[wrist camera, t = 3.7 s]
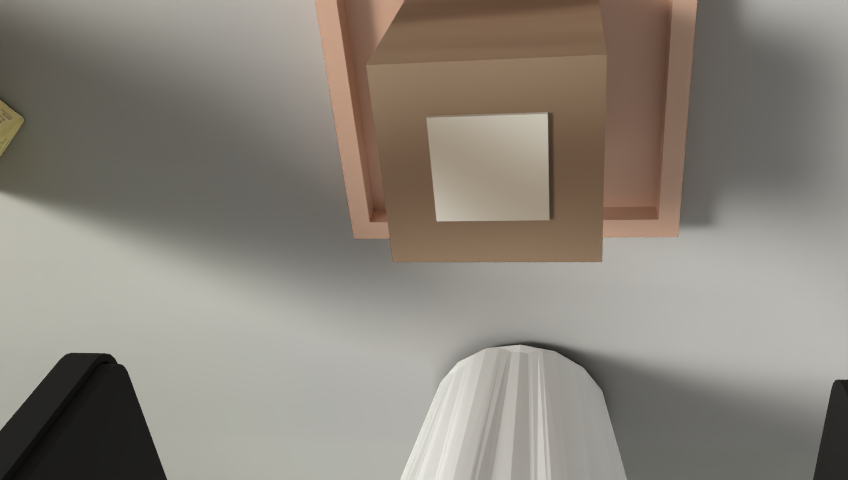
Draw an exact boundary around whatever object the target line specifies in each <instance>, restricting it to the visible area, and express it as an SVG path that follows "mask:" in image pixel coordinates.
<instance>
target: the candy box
mask: <svg viewBox="0 0 848 480" xmlns="http://www.w3.org/2000/svg"><path fill="white" fill-rule="evenodd" d="M23 122H24V118H23V117H22V116H21V115H19V114H18V113H16V112H15V111H14V110H12V109H11V108H10V107H8V106H7V105H6V104H5V103H4V102H2V101H1V100H0V156H1V155H2V153H3V152H4V151H5V149H6V148H7V146H8V145H9V143H10V142H11V140H12V139H13V137H14V136H15V134H16V133H17V131H18V130H19V128H20V126H21V125H22V123H23Z"/></svg>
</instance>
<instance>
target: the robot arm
mask: <svg viewBox="0 0 848 480" xmlns="http://www.w3.org/2000/svg"><path fill="white" fill-rule="evenodd" d="M0 480H167V478H166V476H165V473H164V470H163V467H162V465H161V462H160V459H159V456H158V454H157V451H156V448H155V445H154V443H153V440H152V437H151V435H150V432H149V429H148V426H147V424H146V421H145V418H144V415H143V413H142V410H141V407H140V404H139V402H138V399H137V396H136V393H135V391H134V388H133V385H132V383H131V380H130V377H129V374H128V372H127V370H126V368H125V367H124V366H123V365H121V364H118V363H117V362H116V360H115V358H114V357H113V356H111V355H110V354H105V353H69V354H66V355H65V356H64V357H63V358H61V359H60V360H59V362H58V363H57V364H56V365H55V366H54V367H53V369H52V370H51V371H50V372H49V373H48V375H47V376H46V377H45V378H44V379H43V381H42V382H41V383H40V384H39V385H38V387H37V388H36V389H35V390H34V391H33V393H32V394H31V395H30V396H29V397H28V398H27V400H26V401H25V402H24V403H23V404H22V406H21V407H20V408H19V409H18V410H17V412H16V413H15V414H14V415H13V416H12V418H11V419H10V420H9V421H8V422H7V423H6V425H5V426H4V427H3V428H2V429H1V431H0ZM813 480H848V380H835V382H834V383H833V386H832V389H831V394H830V399H829V404H828V409H827V414H826V419H825V424H824V429H823V434H822V439H821V444H820V449H819V453H818V458H817V463H816V468H815V473H814V478H813Z"/></svg>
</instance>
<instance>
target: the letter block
mask: <svg viewBox="0 0 848 480" xmlns="http://www.w3.org/2000/svg"><path fill="white" fill-rule="evenodd" d="M366 68H367V75H368V83H369V90H370V97H371V105H372V112H373V119H374V127H375V134H376V141H377V149H378V156H379V163H380V171H381V178H382V185H383V193H384V200H385V207H386V215H387V222H388V229H389V237H390V244H391V251H392V259H393V262H602V244H603V202H604V160H605V118H606V76H607V51H606V44H605V38H604V31H603V24H602V18H601V11H600V4H599V0H405V1H404V2H403V4H402V6H401V7H400V9H399V11H398V12H397V14H396V16H395V17H394V19H393V21H392V22H391V24H390V26H389V27H388V29H387V31H386V33H385V34H384V36H383V38H382V39H381V41H380V43H379V44H378V46H377V48H376V49H375V51H374V53H373V54H372V56H371V58H370V60H369V61H368V63H367V65H366Z"/></svg>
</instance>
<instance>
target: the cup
mask: <svg viewBox="0 0 848 480" xmlns="http://www.w3.org/2000/svg"><path fill="white" fill-rule="evenodd" d="M400 480H627V478H626V474H625V471H624V467H623V463H622V460H621V456H620V453H619V449H618V446H617V442H616V439H615V435H614V431H613V428H612V424H611V421H610V417H609V414H608V410H607V407H606V403H605V399H604V396H603V392H602V390H601V389H600V388H599V386H598V385H597V384H596V383H595V381H594V380H593V379H592V378H591V376H590V375H589V374H588V373H587V371H586V370H585V369H584V368H583V367H581V366H580V365H578V364H576V363H574V362H573V361H571V360H569V359H567V358H566V357H564V356H562V355H561V354H559V353H557V352H555V351H551V350H546V349H541V348H535V347H530V346H525V345H512V346H502V347H492V348H485V349H483V350H481V351H479V352H477V353H475V354H473V355H471V356H469V357H467V358H465V359H463V360H461V361H459V362H458V363H457V364H456V365H455V366H454V367H453V369H452V370H451V371H450V372H449V373H448V374H447V375H446V377H445V378H444V379H443V380H442V381H441V383H440V385H439V387H438V390H437V392H436V395H435V397H434V400H433V402H432V404H431V407H430V409H429V412H428V414H427V416H426V419H425V421H424V424H423V426H422V429H421V431H420V433H419V436H418V438H417V441H416V443H415V445H414V448H413V450H412V453H411V455H410V457H409V460H408V462H407V465H406V467H405V470H404V472H403V474H402V477H401V479H400Z"/></svg>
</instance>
